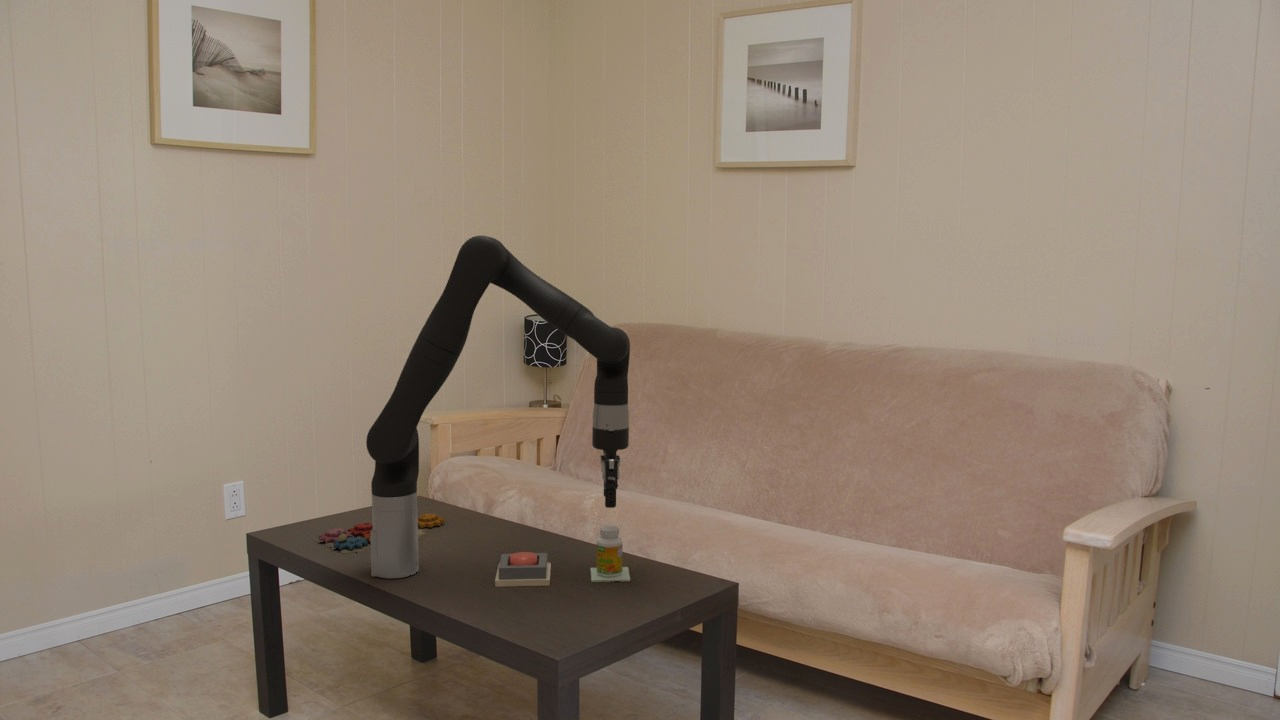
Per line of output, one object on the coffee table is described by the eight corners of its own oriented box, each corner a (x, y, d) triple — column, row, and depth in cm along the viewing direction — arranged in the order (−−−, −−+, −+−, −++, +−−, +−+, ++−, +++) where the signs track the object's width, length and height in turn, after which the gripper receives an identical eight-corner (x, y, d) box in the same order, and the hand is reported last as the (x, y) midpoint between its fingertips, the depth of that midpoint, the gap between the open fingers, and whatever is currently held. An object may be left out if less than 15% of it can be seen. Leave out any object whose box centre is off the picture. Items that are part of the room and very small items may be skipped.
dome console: (495, 586, 194) (494, 569, 194) (499, 569, 205) (498, 552, 204) (549, 585, 195) (549, 568, 194) (550, 568, 206) (550, 551, 205)
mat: (591, 582, 197) (591, 580, 197) (590, 569, 205) (590, 567, 205) (630, 581, 197) (630, 579, 197) (627, 568, 205) (627, 567, 205)
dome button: (509, 574, 197) (509, 560, 196) (510, 566, 202) (510, 552, 202) (536, 574, 197) (536, 559, 197) (537, 565, 203) (537, 551, 202)
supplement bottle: (592, 575, 200) (592, 529, 199) (603, 568, 205) (603, 523, 204) (616, 578, 198) (616, 532, 197) (626, 571, 203) (626, 526, 202)
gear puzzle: (427, 518, 247) (427, 502, 247) (462, 531, 235) (462, 514, 235) (312, 543, 225) (311, 526, 225) (345, 558, 214) (344, 540, 213)
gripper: (591, 419, 204) (590, 493, 206) (593, 431, 190) (592, 511, 192) (626, 419, 205) (625, 493, 207) (631, 431, 191) (629, 510, 193)
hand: (609, 501), depth 199 cm, fingers open, 8 cm apart
